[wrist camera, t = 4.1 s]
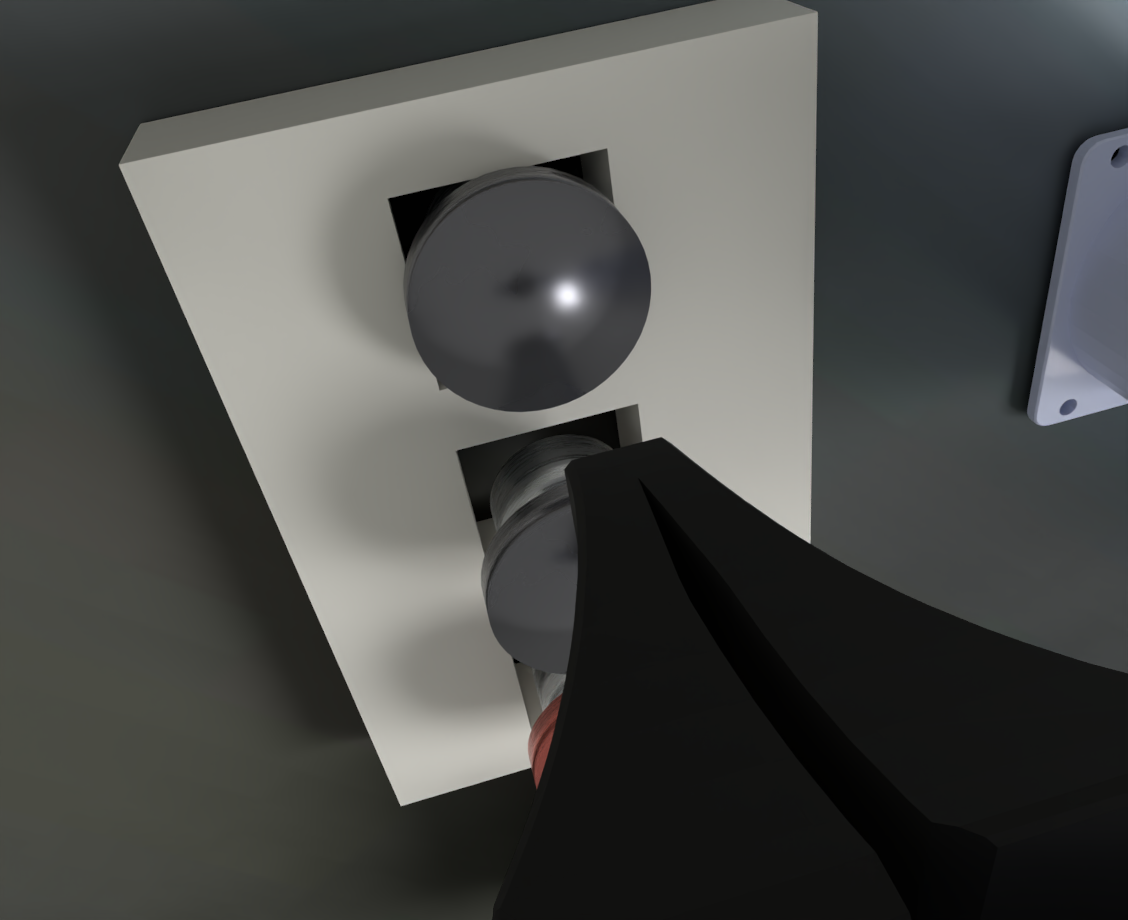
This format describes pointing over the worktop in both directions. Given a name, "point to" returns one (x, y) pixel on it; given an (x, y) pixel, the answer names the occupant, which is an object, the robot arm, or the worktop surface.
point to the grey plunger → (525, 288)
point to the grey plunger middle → (535, 553)
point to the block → (405, 384)
